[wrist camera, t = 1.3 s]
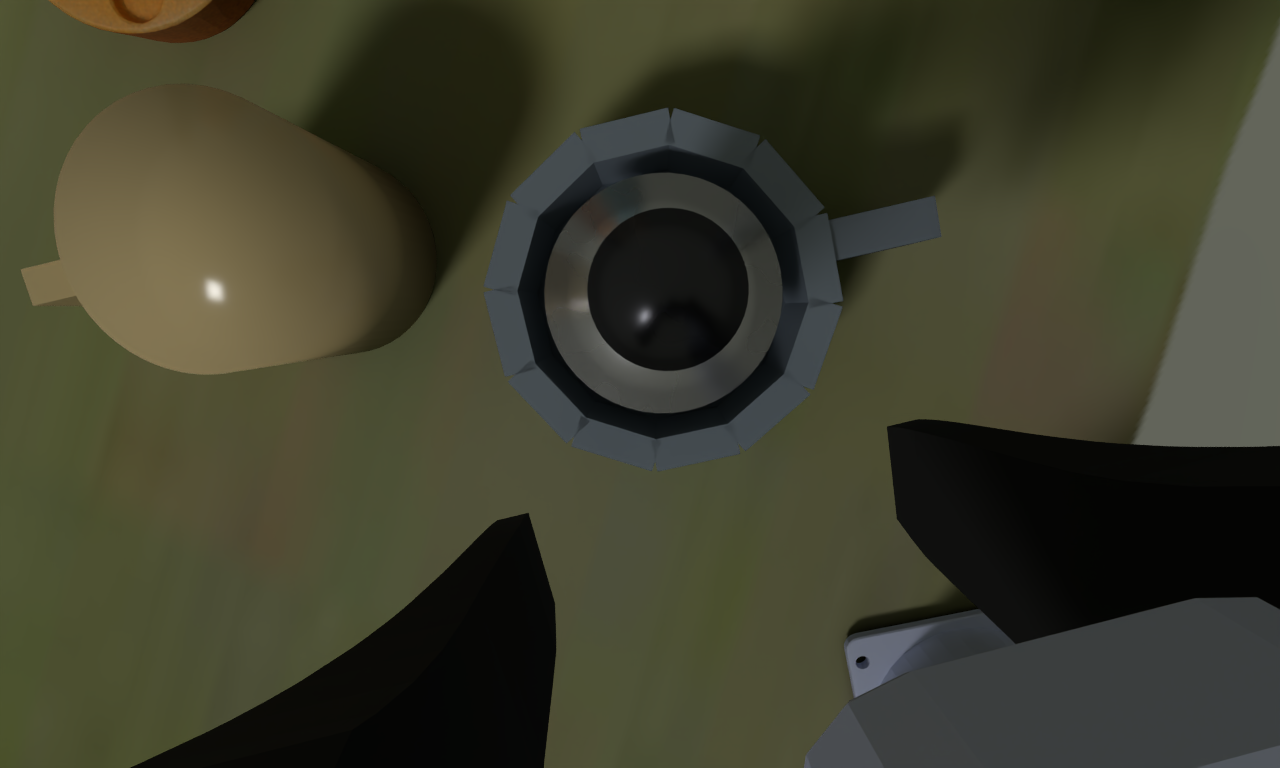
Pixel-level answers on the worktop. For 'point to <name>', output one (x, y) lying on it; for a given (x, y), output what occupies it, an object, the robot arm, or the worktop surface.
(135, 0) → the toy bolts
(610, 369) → the plunger
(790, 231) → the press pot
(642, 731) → the worktop surface
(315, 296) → the beige rounded domed part
